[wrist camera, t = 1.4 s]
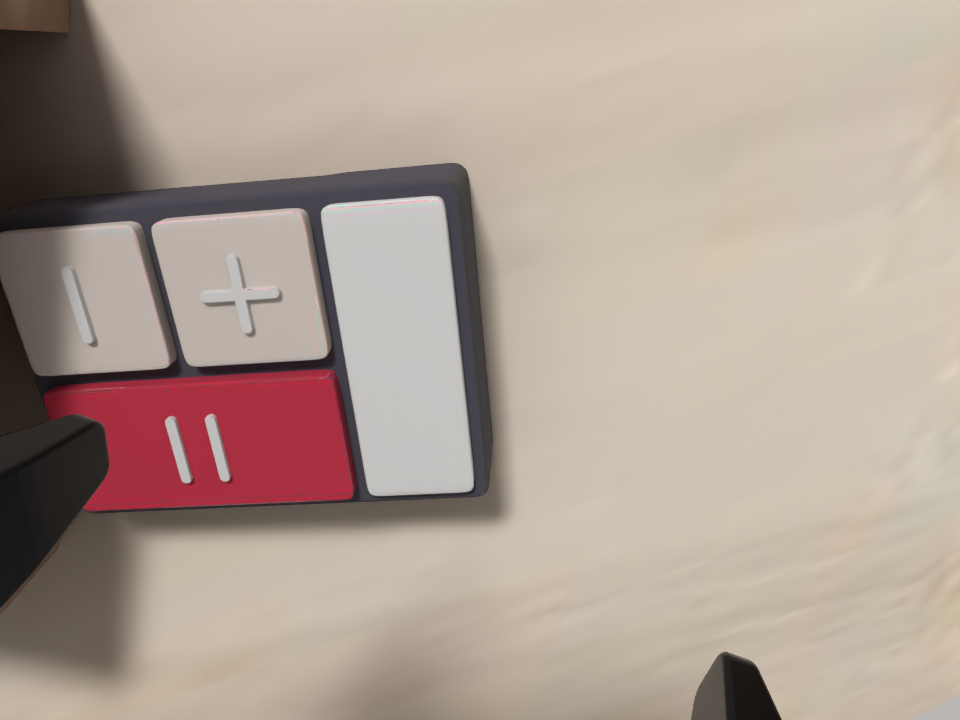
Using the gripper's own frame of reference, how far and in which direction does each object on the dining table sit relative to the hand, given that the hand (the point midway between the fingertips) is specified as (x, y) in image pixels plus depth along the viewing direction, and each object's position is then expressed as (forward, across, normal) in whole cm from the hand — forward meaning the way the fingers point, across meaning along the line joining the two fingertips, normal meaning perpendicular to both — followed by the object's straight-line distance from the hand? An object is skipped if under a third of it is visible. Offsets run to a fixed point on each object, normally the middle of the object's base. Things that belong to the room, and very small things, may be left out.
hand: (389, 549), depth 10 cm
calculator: (+14, +10, +8) cm, 19 cm away
